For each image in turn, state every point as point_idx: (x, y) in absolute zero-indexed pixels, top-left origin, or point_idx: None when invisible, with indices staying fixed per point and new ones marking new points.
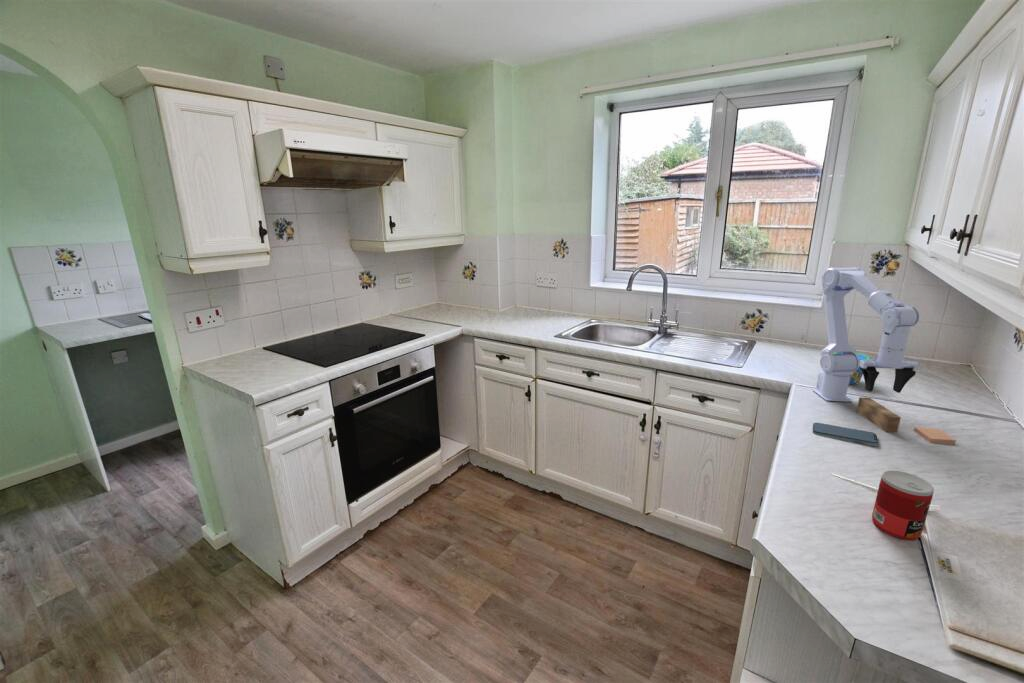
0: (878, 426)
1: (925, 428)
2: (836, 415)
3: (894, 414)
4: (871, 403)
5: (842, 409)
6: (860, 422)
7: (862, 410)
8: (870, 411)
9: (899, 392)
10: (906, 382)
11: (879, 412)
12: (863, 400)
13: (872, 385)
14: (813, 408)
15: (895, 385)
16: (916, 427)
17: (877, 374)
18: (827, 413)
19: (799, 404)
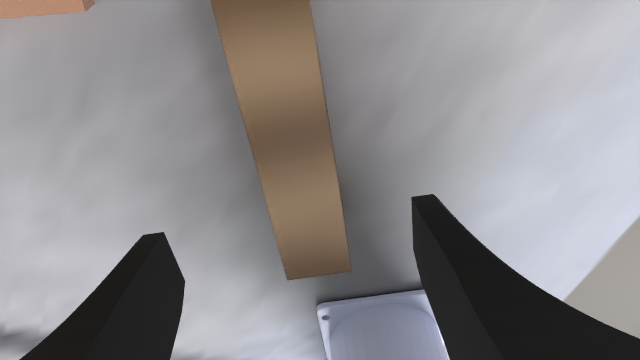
0: (310, 5)
1: (16, 3)
2: (492, 123)
3: (230, 12)
4: (318, 195)
5: (409, 211)
6: (397, 50)
7: (338, 183)
8: (330, 134)
9: (147, 235)
10: (63, 324)
11: (318, 63)
12: (345, 235)
13: (452, 234)
14: (569, 187)
15: (167, 315)
16: (74, 7)
17: (518, 352)
18: (530, 139)
19: (614, 220)
